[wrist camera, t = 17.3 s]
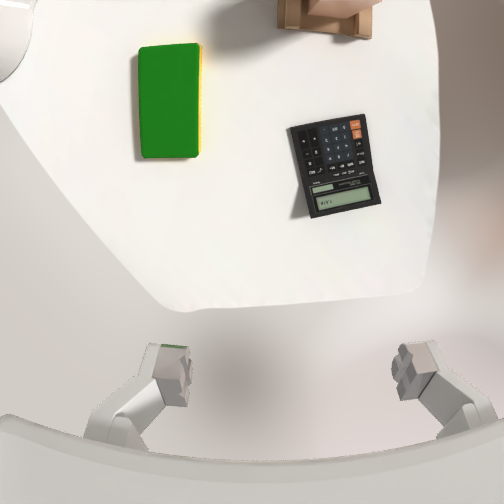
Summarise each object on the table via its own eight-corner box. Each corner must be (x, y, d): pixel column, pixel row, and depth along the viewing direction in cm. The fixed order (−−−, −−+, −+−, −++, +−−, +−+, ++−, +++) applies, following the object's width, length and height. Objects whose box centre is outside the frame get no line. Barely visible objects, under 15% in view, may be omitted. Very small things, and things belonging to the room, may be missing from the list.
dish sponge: (147, 153, 39) (141, 158, 37) (145, 48, 31) (138, 47, 29) (201, 152, 39) (198, 157, 37) (202, 44, 31) (199, 42, 29)
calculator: (362, 113, 35) (370, 117, 33) (374, 197, 41) (381, 206, 39) (289, 127, 37) (292, 131, 34) (308, 211, 43) (311, 221, 40)
